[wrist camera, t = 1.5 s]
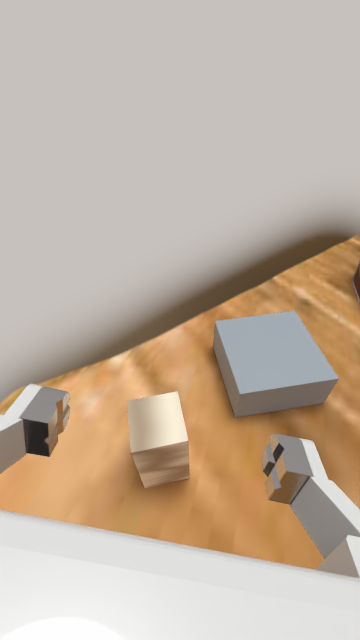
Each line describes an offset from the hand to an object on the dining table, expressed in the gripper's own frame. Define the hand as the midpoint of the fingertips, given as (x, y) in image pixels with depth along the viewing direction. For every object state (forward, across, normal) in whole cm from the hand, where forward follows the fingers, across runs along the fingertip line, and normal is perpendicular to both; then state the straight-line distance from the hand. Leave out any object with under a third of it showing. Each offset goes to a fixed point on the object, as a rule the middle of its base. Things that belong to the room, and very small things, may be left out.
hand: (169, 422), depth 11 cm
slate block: (+26, -14, +16) cm, 33 cm away
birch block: (+13, -2, +22) cm, 25 cm away
